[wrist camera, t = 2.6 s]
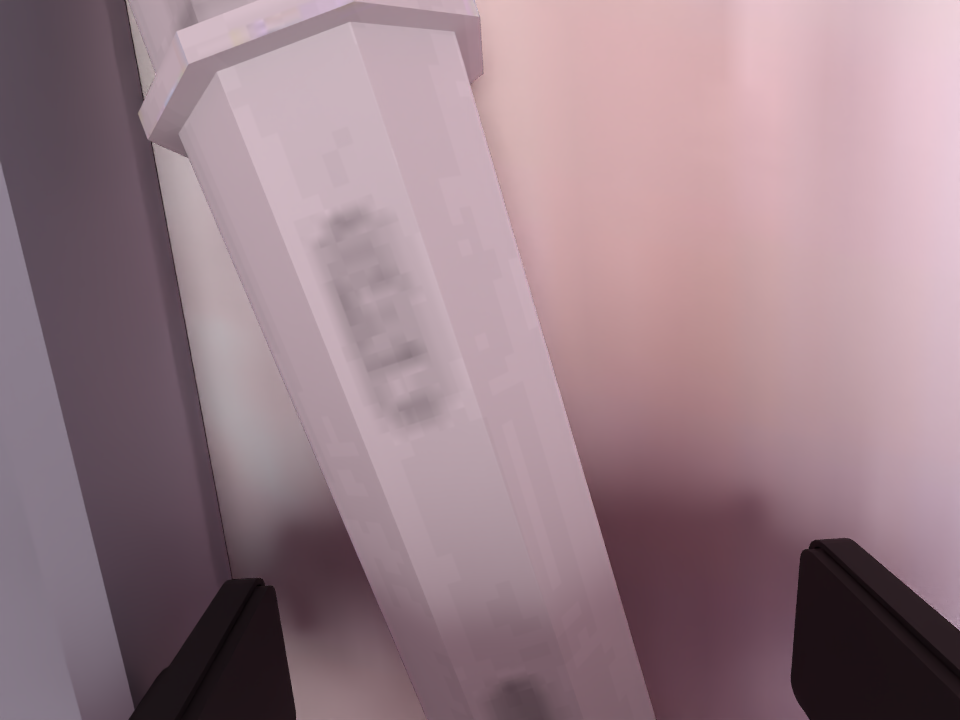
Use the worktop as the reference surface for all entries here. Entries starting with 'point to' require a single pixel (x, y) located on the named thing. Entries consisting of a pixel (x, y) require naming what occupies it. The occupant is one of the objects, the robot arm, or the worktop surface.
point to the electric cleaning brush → (404, 335)
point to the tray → (91, 382)
